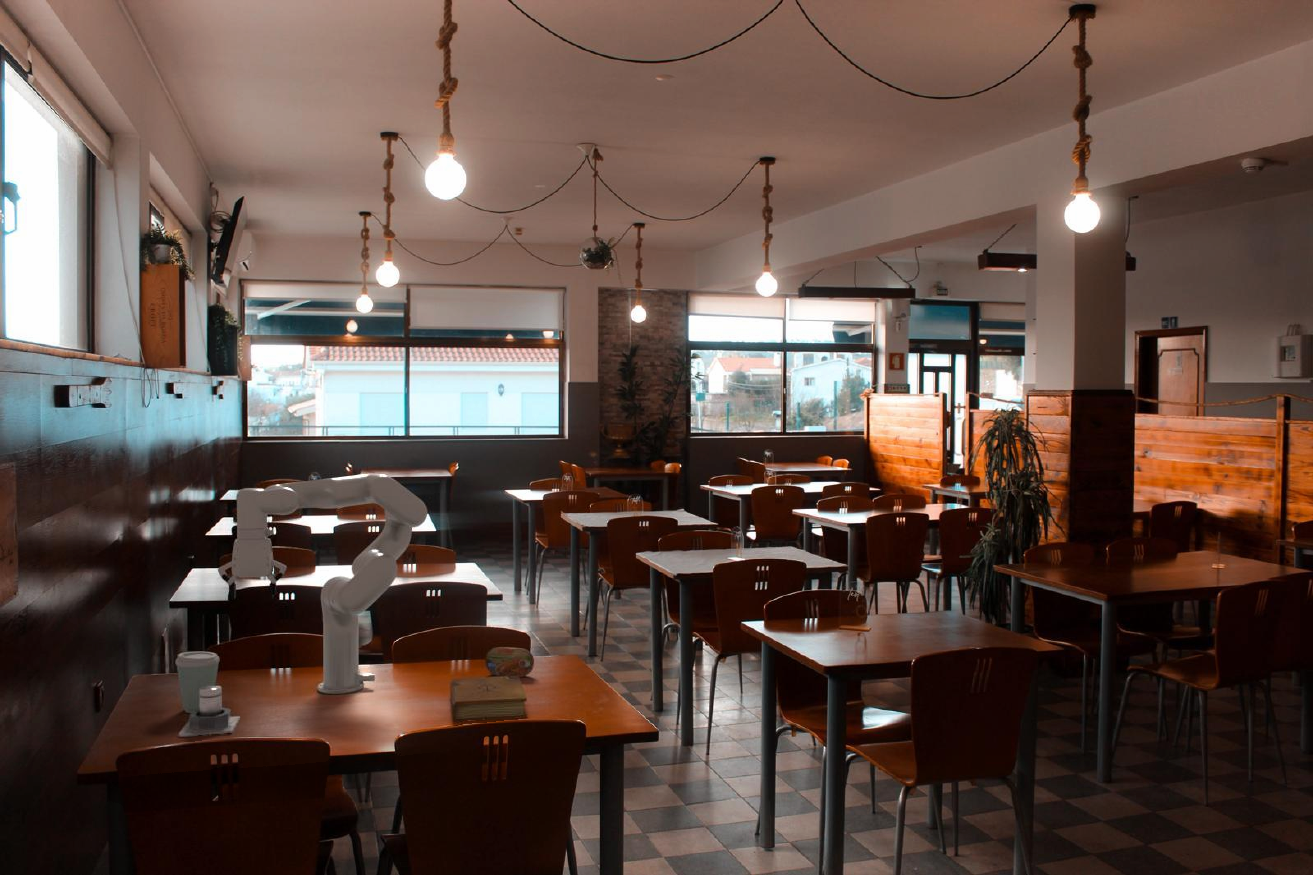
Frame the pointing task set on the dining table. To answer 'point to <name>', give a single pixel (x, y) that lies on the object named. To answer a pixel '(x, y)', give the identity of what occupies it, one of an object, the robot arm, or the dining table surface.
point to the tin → (509, 661)
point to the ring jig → (209, 724)
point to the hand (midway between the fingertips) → (252, 598)
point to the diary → (487, 698)
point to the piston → (210, 701)
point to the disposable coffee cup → (195, 676)
